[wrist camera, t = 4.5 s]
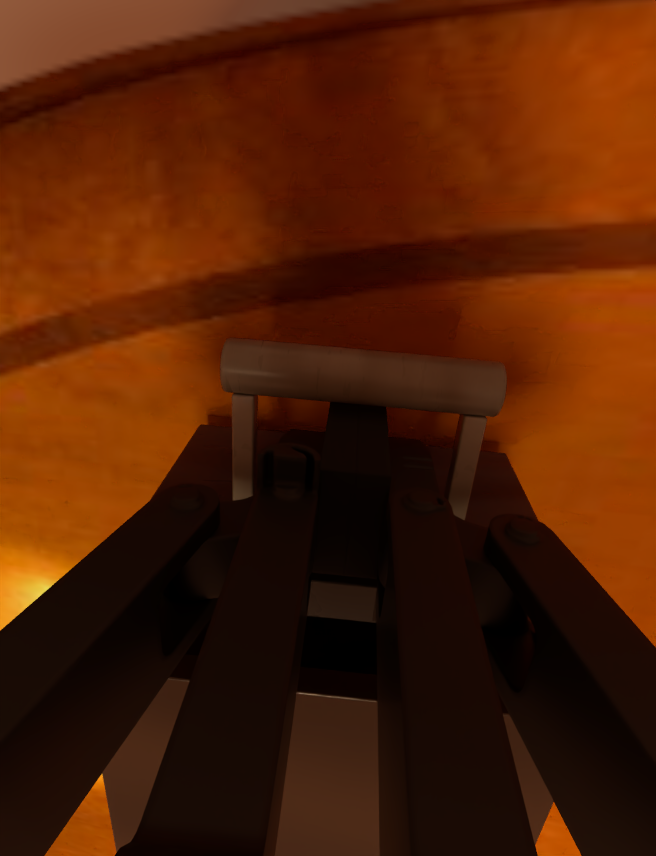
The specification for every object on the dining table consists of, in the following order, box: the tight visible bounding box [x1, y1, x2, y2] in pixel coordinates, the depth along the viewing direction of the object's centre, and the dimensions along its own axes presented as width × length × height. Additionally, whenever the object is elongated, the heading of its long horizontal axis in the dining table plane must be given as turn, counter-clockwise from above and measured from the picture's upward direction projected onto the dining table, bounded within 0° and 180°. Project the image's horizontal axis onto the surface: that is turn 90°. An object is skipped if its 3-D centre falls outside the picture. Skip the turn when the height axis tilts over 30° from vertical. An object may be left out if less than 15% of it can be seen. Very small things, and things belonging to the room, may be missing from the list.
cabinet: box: [102, 654, 554, 856], centre depth 21 cm, size 15×13×10 cm
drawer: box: [151, 338, 538, 675], centre depth 18 cm, size 18×11×8 cm, turn 176°
